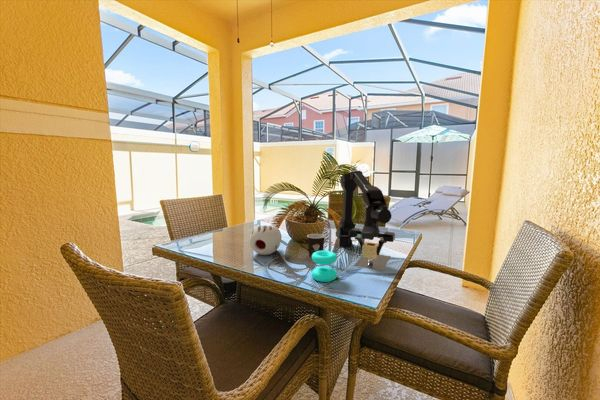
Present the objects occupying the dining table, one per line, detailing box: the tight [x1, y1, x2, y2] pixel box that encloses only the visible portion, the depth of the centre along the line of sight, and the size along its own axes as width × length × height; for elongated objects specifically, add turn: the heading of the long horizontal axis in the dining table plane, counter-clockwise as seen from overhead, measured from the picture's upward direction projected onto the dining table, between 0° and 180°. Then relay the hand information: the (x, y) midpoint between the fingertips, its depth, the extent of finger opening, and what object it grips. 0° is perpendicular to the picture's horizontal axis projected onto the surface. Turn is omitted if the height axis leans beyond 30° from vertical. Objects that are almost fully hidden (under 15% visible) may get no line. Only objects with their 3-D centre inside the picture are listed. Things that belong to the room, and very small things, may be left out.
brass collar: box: [361, 241, 380, 259], centre depth 119 cm, size 6×6×5 cm
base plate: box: [353, 254, 391, 271], centre depth 124 cm, size 20×12×6 cm, turn 153°
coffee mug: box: [298, 233, 325, 258], centre depth 135 cm, size 12×9×10 cm
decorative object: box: [249, 225, 282, 256], centre depth 139 cm, size 15×19×15 cm
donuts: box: [311, 250, 338, 283], centre depth 109 cm, size 10×10×10 cm
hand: (370, 253), depth 119 cm, fingers closed on brass collar, 6 cm apart
